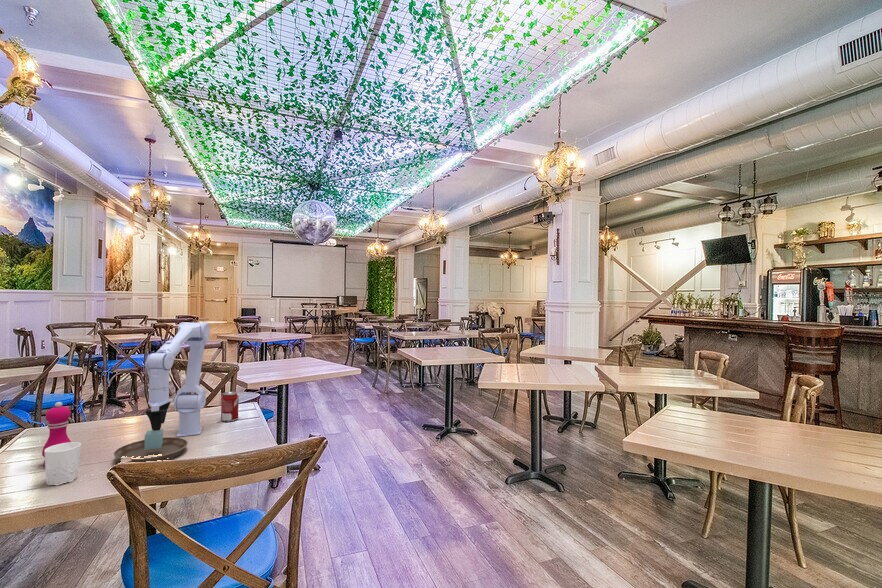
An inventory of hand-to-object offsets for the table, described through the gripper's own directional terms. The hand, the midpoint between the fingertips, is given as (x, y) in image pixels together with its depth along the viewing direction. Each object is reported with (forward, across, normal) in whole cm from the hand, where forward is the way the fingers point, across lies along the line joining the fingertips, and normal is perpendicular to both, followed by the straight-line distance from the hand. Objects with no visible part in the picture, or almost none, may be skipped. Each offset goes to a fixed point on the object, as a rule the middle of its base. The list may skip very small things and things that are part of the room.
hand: (158, 426), depth 141 cm
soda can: (+10, +32, -21) cm, 40 cm away
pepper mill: (+10, +3, +28) cm, 29 cm away
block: (+6, -1, +1) cm, 7 cm away
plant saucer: (+10, -1, +2) cm, 10 cm away
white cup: (+10, -13, +22) cm, 27 cm away
